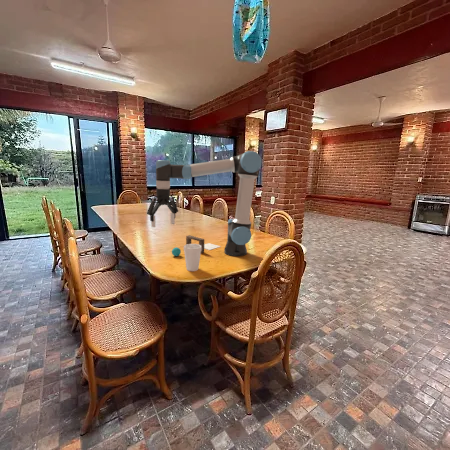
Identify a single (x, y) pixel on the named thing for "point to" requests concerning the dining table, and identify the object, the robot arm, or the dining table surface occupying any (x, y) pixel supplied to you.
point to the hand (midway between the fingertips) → (163, 225)
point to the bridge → (201, 241)
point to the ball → (176, 251)
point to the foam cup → (192, 256)
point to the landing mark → (210, 246)
